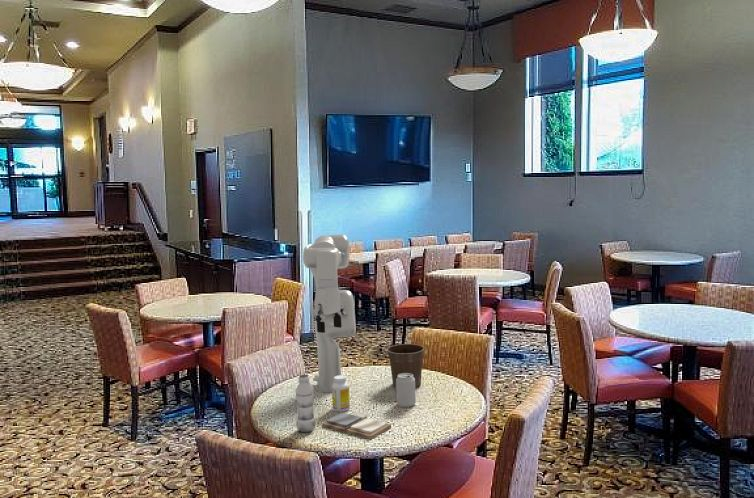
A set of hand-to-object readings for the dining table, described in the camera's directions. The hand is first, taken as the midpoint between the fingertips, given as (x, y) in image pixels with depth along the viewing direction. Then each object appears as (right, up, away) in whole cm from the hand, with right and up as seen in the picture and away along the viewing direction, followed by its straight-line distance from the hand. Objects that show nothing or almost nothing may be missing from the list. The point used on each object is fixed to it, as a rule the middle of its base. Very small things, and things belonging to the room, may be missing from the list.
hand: (329, 329), depth 227 cm
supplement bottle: (+4, -33, +13) cm, 36 cm away
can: (+29, -32, +16) cm, 46 cm away
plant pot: (+30, -29, +39) cm, 57 cm away
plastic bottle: (-8, -35, -7) cm, 37 cm away
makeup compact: (+10, -34, -5) cm, 36 cm away
